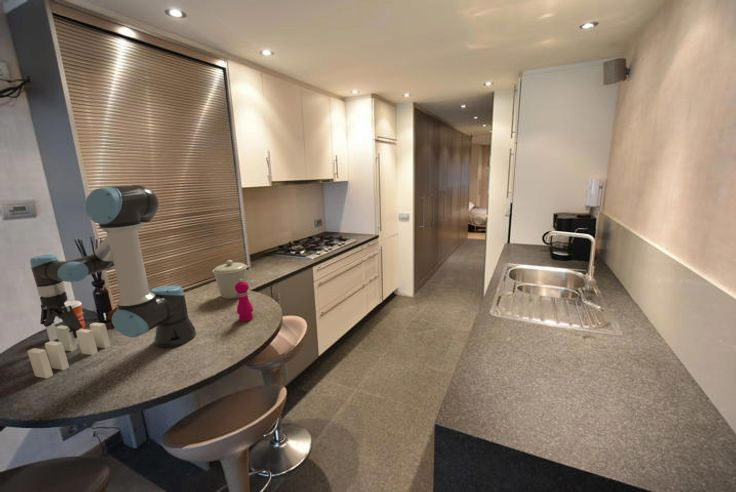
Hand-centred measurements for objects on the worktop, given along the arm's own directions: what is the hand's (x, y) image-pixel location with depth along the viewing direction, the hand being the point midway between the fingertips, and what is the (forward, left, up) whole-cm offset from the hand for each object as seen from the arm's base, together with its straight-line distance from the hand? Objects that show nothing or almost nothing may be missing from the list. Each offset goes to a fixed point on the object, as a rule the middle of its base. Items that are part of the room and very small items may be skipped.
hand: (65, 342), depth 132 cm
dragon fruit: (+3, -24, -3) cm, 24 cm away
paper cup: (+13, -12, -3) cm, 18 cm away
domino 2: (-1, 0, -3) cm, 3 cm away
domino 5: (-13, -5, -3) cm, 14 cm away
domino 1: (-13, +15, -3) cm, 20 cm away
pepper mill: (-57, -40, -3) cm, 70 cm away
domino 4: (-13, 0, -3) cm, 13 cm away
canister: (-31, -64, -3) cm, 71 cm away
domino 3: (-13, +10, -3) cm, 17 cm away
